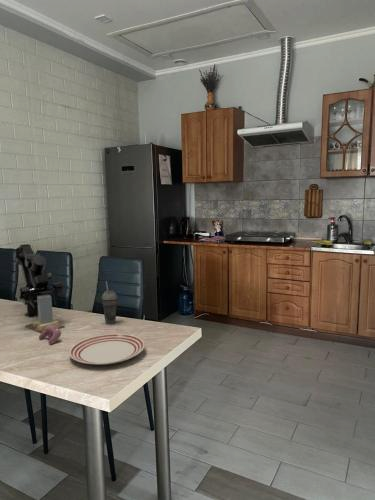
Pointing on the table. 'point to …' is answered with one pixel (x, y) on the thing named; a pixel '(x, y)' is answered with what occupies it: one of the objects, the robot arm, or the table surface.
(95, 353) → the dinner plate
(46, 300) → the slate pillar block
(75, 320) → the table surface
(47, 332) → the video game controller
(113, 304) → the beverage cup
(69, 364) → the table surface
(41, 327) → the build board
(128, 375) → the table surface
